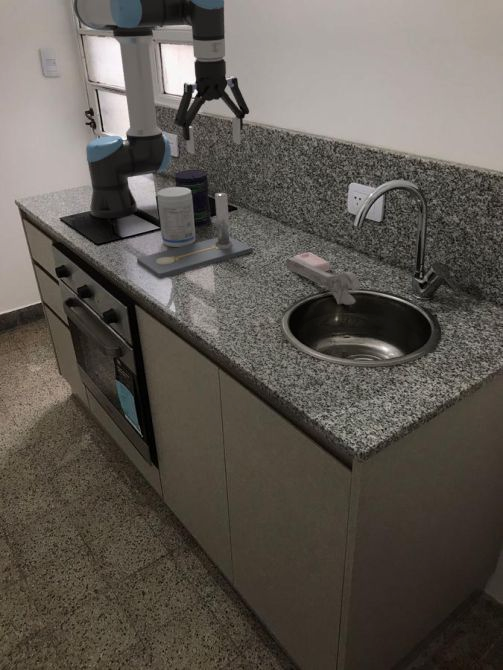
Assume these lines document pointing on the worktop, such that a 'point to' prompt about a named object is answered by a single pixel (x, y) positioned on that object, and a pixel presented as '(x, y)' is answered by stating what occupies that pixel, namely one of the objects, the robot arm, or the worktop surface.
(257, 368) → the worktop surface
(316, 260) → the soap bar
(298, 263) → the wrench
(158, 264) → the board
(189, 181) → the storage jar
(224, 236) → the steel pin
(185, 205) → the supplement tub
